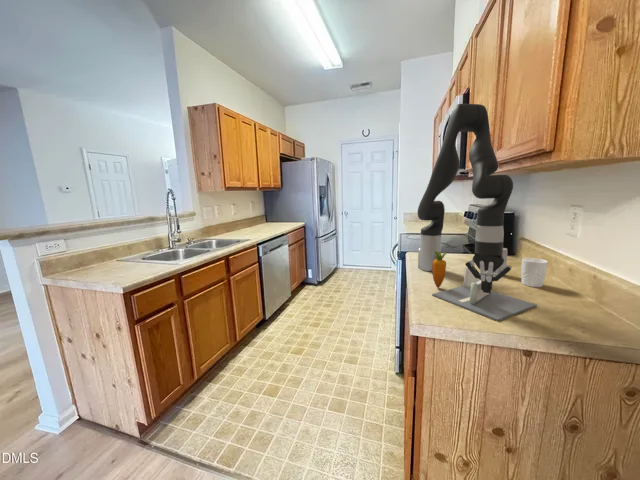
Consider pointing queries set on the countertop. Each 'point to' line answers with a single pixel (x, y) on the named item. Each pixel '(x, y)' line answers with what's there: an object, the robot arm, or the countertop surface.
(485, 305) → the card
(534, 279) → the white cup
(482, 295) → the fence gate
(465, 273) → the bar
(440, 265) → the carrot
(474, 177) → the robot arm
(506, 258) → the energy drink
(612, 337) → the countertop surface
